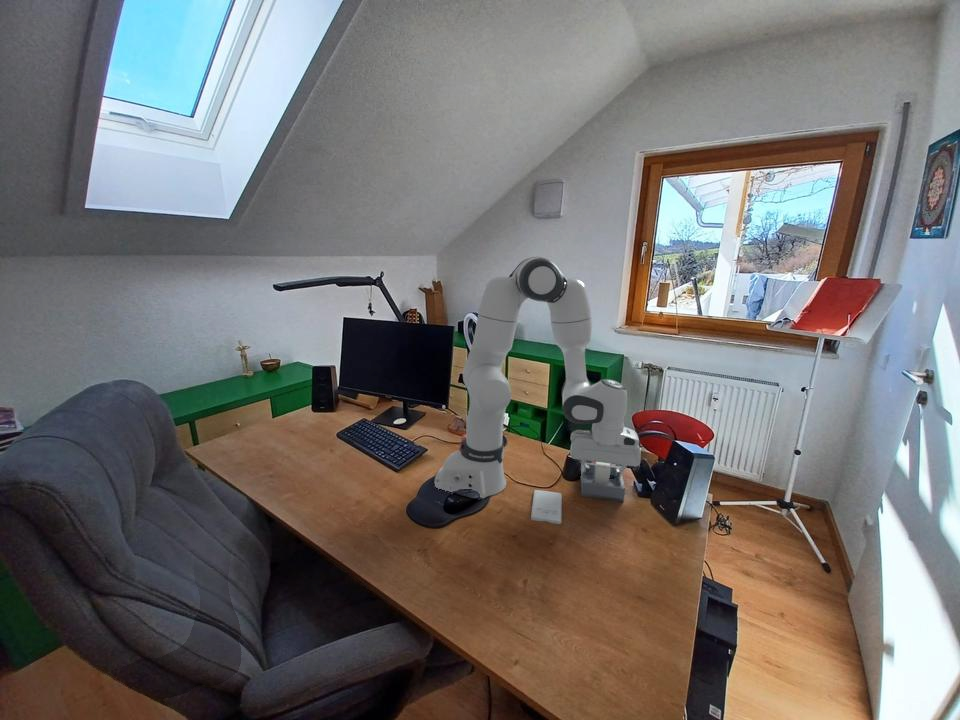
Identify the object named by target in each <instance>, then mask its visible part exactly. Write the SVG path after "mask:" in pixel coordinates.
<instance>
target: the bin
mask: <svg viewBox="0 0 960 720" xmlns="http://www.w3.org/2000/svg"><path fill="white" fill-rule="evenodd" d="M595 464H596V462H595V463H593V462H587V461H586V465H589V473H587V472H584V466H583V465H582V463H580V471H581V476H580V475H579V477H580V495H581V497H583V498H584V497H585V498H592V499H600V500H606V501H612V502H619V503H620V502H621V503H624V501H625V494H626V486H625V482H624V478H623V473H622V474H621V477H618V476H616V469H619V468H620V467H621V466H617V465H612V464H610V468H611V470H610V475H613V476H615V477H616V478H614V479H609V485H607V484H599V483H594V473H595Z"/></svg>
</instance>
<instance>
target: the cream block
mask: <svg viewBox="0 0 960 720" xmlns="http://www.w3.org/2000/svg"><path fill="white" fill-rule="evenodd" d="M610 465H611V463H603V462H595V473H594V483H599V484H607V485H609V478H610V470H611V468H610Z"/></svg>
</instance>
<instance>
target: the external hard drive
mask: <svg viewBox="0 0 960 720" xmlns="http://www.w3.org/2000/svg"><path fill="white" fill-rule="evenodd" d="M562 495H563V494H562V493H561V492H556V491H555V492H554V491H546V490H541V489H539V490H538V489H534V490H533V495H532V496H533V497H532V504H531V506H532V507H531V514H530V520H531V521H537V522H542V523H543V522H546V523H550V524H555V525H561V524H562V507H563V506H562V503H563V502H562V501H563V500H562V499H563V497H562Z"/></svg>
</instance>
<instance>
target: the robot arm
mask: <svg viewBox="0 0 960 720" xmlns="http://www.w3.org/2000/svg"><path fill="white" fill-rule="evenodd" d="M481 297H482V298H481V301H480V305H479V309H478V314H477V318H476V319H477V320H476V325H475V329H474V336H473V341H472V343H471V347H470V350H469V352H468V354H467V359H466V362H465V364H464V366H463V369H462V379H463V383H464V384H465V387H466V389H467V391H468V395H469V406H468V407H469V408H468V412H467V416H466V419H465V423H466V424H465V425H466V426H465V427H466V428H465V429H466V430H465V433H464V434H463V435H462V437H461V438H460V439H461V441H460V443H459V446H458V447H459V448H458V450H455V451H454V452H453V453H450V454H449V455H448V456H447V458H445V461H444V463H443V466H442V467H440V468H439V470H438V471H437V473H436V475H435V477H434V482H433V483H434V484H435V485H434V488H435V487H436V488H438V489H437V490H439V489H442V490H445V491H444V492H446V491H449V492H453V491H457V490H459V489H472V490H474V491H477V492H478V493H479V494H480V497H481V498H483V499H485V498H487V497H490V496H494V495H496V494H499V493H501V492H502V491H503V490H504V489H505V488H506V486H507V479H506V476H505V472H504V471H505V470H504V463H503V461H504V455H505V446H504V440H503V433H504V418H505V413H506V409H507V407H508V406H509V404H510V402H511V400H512V390H511V385H510V382H509V380H508V378H507V377H506V376H505V375H504V374H503V372H502V370H503V368H502V367H503V364H504V362H505V359H506V357H507V355H508V353H509V352H510V351H511V350H512V348H513V344H514V338H515V334H516V328H517V324H518V320H519V313H520V310H521V307H522V304H523V303H524V302H525V301H526V300H528V299H530V300H532V301H536V302H544V303H546V304H547V306H548V309H549V313H550V314H549V315H550V324H551V331H552V335H553V339H554V342H555V344H556V346H557V347H558V348H559V349H560V350H561V352H562V355H563V360H564V370H565V380H564V383H563V386H562V388H561V398H562V413H563V415H564V417H565V418H566V419H567V420H568V421H569V422H571V423H572V424H577V425H586V424H587V425H590V424H591V425H592V426H591V430H583V429H582V430H581V429H576V430H573V431H571V433H570V442H571V444H570V450H569V451H570V452H569V455H570V457H571V458H572V459H573V460H579V461H581V463H582V465H583V466H584V472H587V473H589V465H586V462H587V461H588V462H595V463H596V462H603V463H610V465H620V466H619V467H620V468H619V469H616V476H618V477H621V474H622V475H623V472H624V471H625V470H626V469H627V467H638V466H640V464H641V461H642V460H641V459H642V454H641V449H640V445H639V444H640V439H639V435H638V433H637V432H636V431H635V430H634V429H631V428H629V427H626V426H625V423H624V418H625V416H626V413H627V407H628V391H627V389H626V388H625V386H624V385H623V384H622V383H621V382H619V381H618V380H617V381H616V380H613V379H610V378H603V379H600V380H599V381H597V382H596V383H594V384H592V383H591V381H590V380H589V379H588V376H587V367H586V348H587V346H588V345H589V343H590V342H591V337H592V327H593V326H592V323H593V321H592V311H591V305H590V304H591V303H590V299H589V295H588V291H587V289H586V284H585V283H584V282H583V281H582V280H580V279H577V278H573V277H565V275H564V274H563V273H562V271H561V270H560V268H559V267H558V266H557V265H556V264H555V262H553V261H552V260H550V259H547V258H545V257H542V256H532V257H528V258H525V259H523V260H522V261H521V262H519V264H518V265H517V266H516V267H515V269H514V270H513V271H512V272H511V273H510V275H508V276H496V277H493V278H491V279H490V280H489V281H488V282H487V284H486V287H485V289H484V291H483V294H482V296H481ZM581 463H580V464H581ZM436 488H435V489H436ZM442 490H441V491H442ZM449 492H448V493H449Z"/></svg>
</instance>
